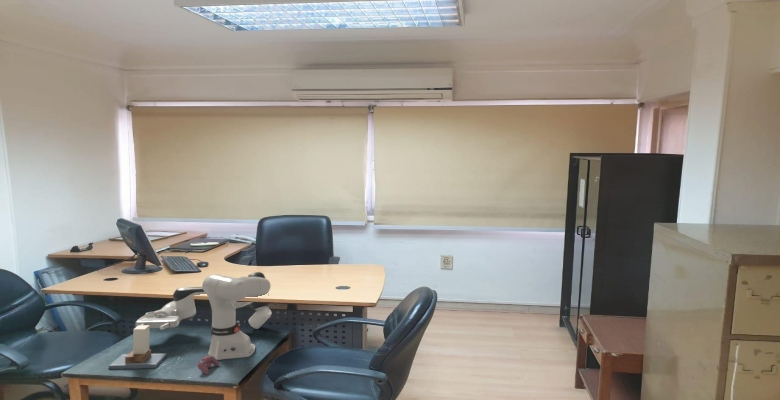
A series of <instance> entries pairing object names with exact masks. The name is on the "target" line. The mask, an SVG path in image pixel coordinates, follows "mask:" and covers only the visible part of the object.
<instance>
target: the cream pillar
mask: <svg viewBox="0 0 780 400" xmlns="http://www.w3.org/2000/svg"><path fill="white" fill-rule="evenodd" d="M150 329H151V328H150V325H138V326H137V327H136V326H135V328H133V330H132V331H133V335H132V337H133V342H132V343H133V347H132V348H133V349H132V351H133V354H145V353H146V352H147V351H148V350H149V349H150V335H151V334H150Z"/></svg>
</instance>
